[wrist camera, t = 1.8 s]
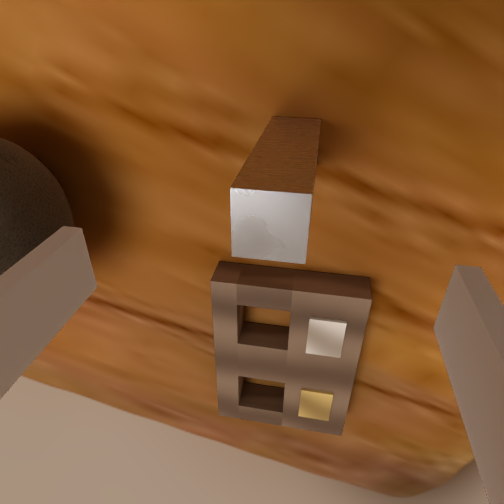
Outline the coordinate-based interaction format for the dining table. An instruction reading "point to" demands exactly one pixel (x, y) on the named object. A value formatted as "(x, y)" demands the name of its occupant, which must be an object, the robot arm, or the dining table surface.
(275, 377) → the socket board
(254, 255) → the plug
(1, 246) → the dark grey round ball
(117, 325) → the dining table surface
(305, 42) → the dining table surface
